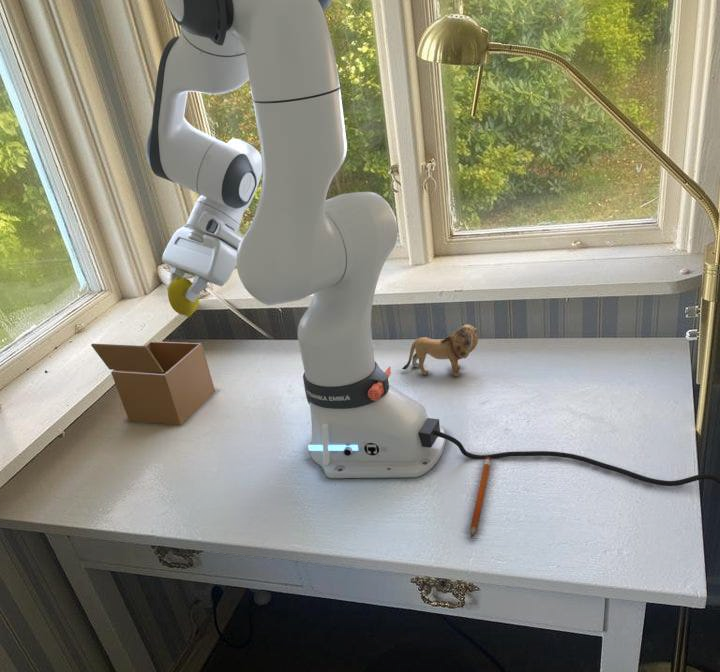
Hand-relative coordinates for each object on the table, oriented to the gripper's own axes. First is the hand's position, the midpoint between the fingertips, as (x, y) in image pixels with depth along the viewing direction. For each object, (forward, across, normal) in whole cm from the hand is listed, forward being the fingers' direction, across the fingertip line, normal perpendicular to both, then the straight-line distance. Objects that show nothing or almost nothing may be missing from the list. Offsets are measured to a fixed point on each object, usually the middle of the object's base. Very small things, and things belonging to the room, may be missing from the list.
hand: (179, 296), depth 137 cm
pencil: (+8, +68, +20) cm, 71 cm away
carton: (+20, +3, +7) cm, 21 cm away
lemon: (+3, 0, +4) cm, 5 cm away
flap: (+14, +6, -7) cm, 17 cm away
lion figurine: (-10, +35, +37) cm, 52 cm away
